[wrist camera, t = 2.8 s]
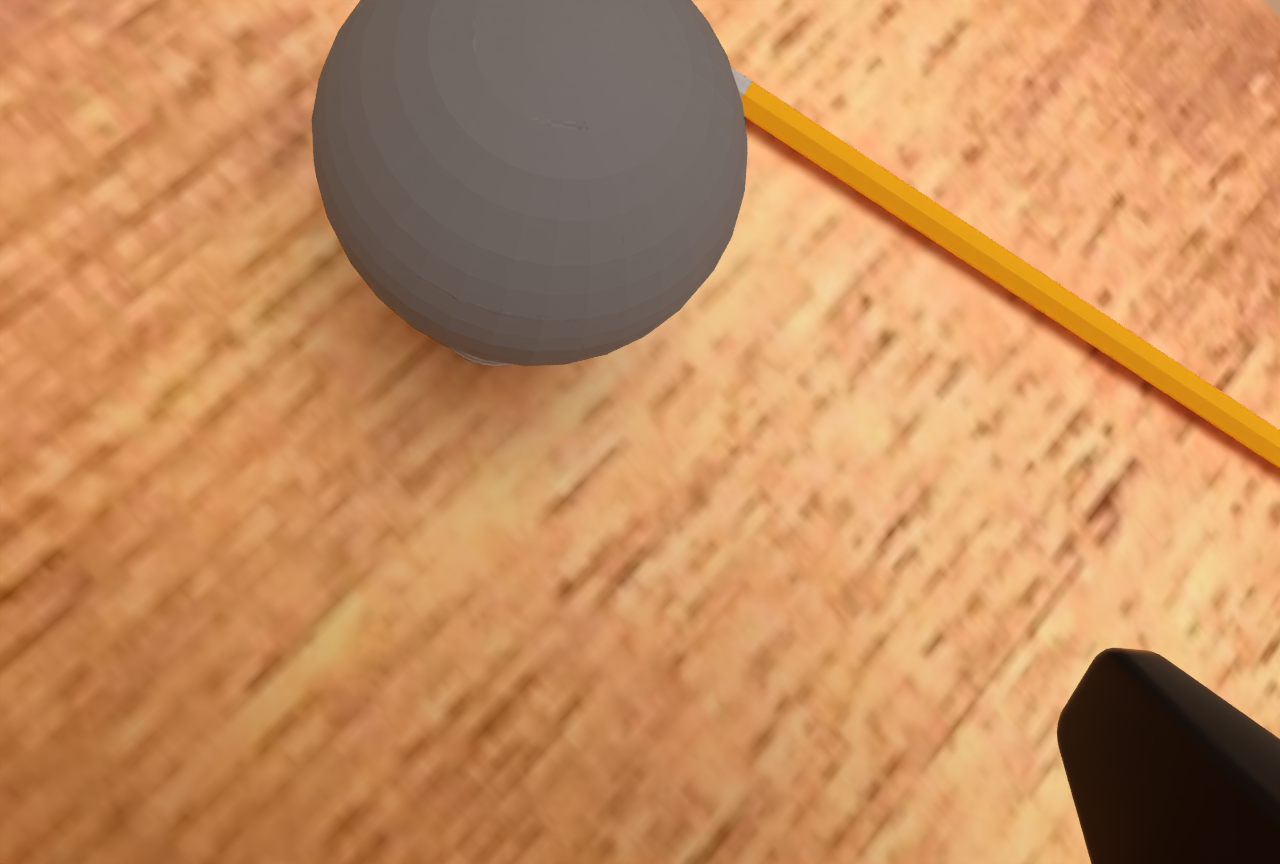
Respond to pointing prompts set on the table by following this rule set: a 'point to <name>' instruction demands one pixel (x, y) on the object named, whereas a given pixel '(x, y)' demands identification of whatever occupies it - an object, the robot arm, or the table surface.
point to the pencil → (1006, 269)
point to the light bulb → (530, 167)
